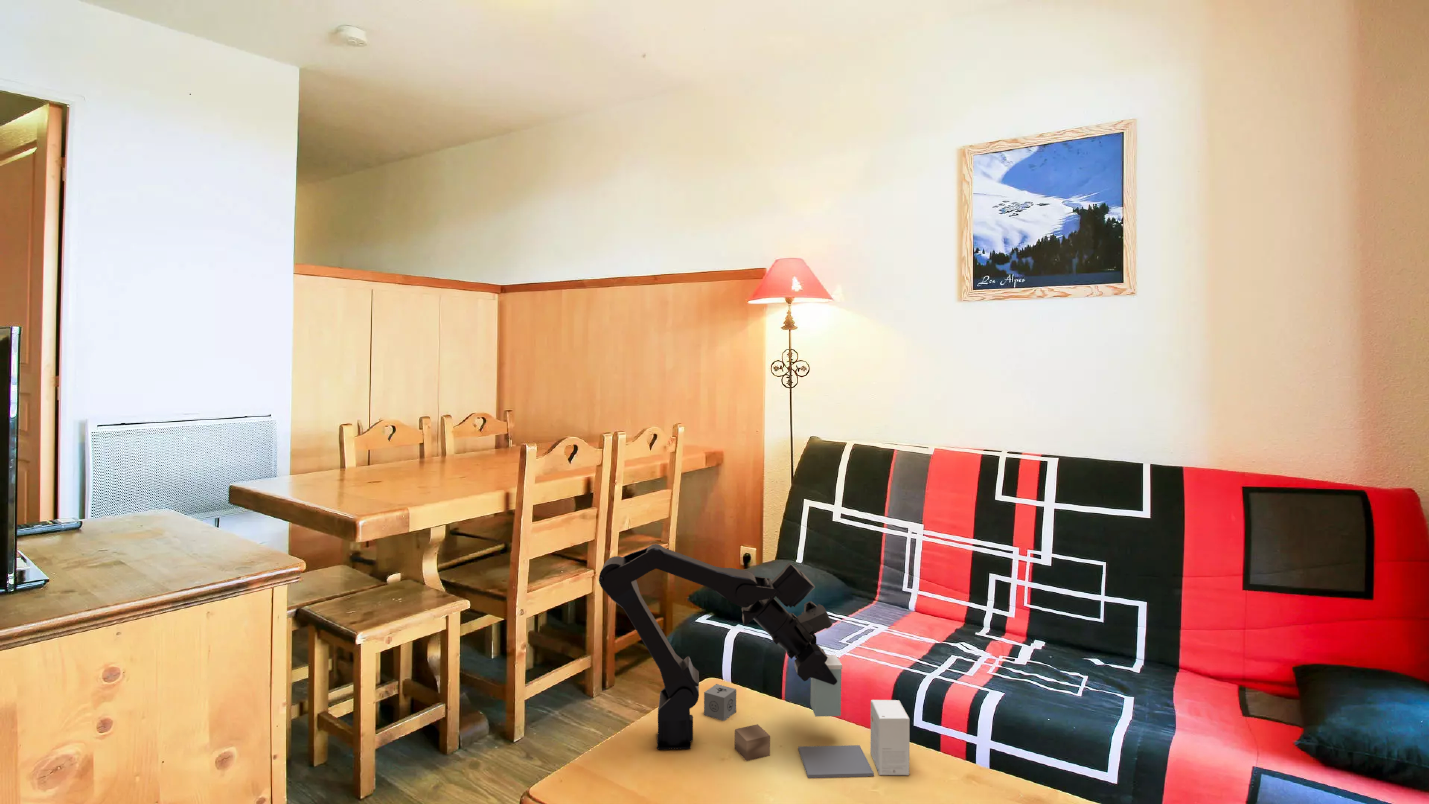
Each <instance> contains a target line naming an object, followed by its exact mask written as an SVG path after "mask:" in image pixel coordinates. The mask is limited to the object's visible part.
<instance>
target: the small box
mask: <svg viewBox="0 0 1429 804" xmlns="http://www.w3.org/2000/svg"><path fill="white" fill-rule="evenodd" d="M910 722H911V721H910V717H909V715H908V714H907V712H906V710H905V708H904V707H903V704H902V703H901V701H900V700H899V699H898V700H896V699H871V700H870V756H871V757H872V760H873V763H874V766H875V768H876V771H877V772H878V775H879V776H909V775H910V724H911V723H910Z"/></svg>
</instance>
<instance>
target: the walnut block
mask: <svg viewBox="0 0 1429 804" xmlns="http://www.w3.org/2000/svg"><path fill="white" fill-rule="evenodd" d="M734 750H735V751H736V752H737V753H738V754H739V755H740V756H741V757H742V758H743V759H744V760H745V761H746V762H750V761H754V760H757V759H761V758H762V759H763V758H767V757H770V756H771V735H770V734H769V733H768V732H767V731H766V730H764V729H763V727H761V726H760V725H759V724H758V723H756V724H752V725H747V726H743V727H738V728H734Z"/></svg>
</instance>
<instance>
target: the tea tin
mask: <svg viewBox="0 0 1429 804" xmlns="http://www.w3.org/2000/svg"><path fill="white" fill-rule="evenodd" d="M826 656H827V657H828V658H827V661H826V662H825V663H826V665H827V666H828V668H829V669H830V671H831V672H832V673H833V675H834V676H835V678H836V679H837V683H836V684H835V685H832V684H829V683H826V682H823V681H820V680H817V679H814V678H811V677H810V703H809V704H810V707H811V709H812V712H813V714H814V717H817V718H818V717H819V718H820V717H841V715H842V670H843V664H842V663H841V660H840V659H839V658H838V655H837V654H826Z"/></svg>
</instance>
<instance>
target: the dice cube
mask: <svg viewBox="0 0 1429 804" xmlns="http://www.w3.org/2000/svg"><path fill="white" fill-rule="evenodd" d="M735 713H737V688H733V687H729V686H727V685H726V686H725V685H722V684H718V683H715V685H713V686H711V687H710V688H708V689H706V690H705V691H704V692H703V716H705V717H709V718H712V719H717V720H719V721H723V722H725V721H726V720H728V719H729V718H730V717H732V716H733V715H734V714H735Z"/></svg>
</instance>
